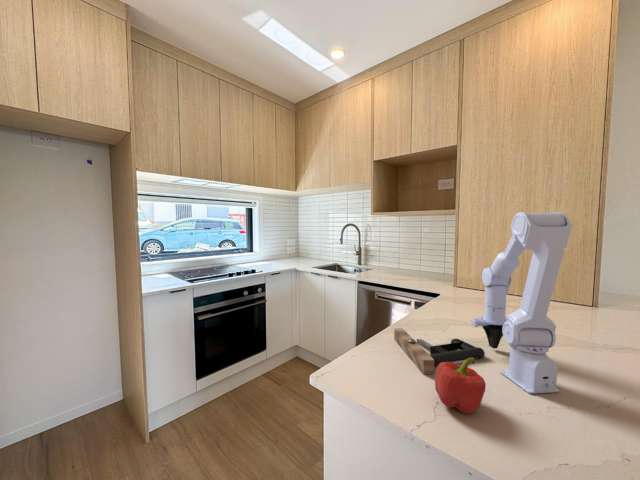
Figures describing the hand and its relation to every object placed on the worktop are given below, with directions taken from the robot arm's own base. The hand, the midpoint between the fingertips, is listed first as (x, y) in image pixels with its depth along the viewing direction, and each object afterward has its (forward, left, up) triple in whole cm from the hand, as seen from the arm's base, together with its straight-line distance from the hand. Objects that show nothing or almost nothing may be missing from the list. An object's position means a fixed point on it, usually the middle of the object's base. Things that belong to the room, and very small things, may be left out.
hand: (493, 346), depth 86 cm
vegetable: (-23, +27, -2) cm, 35 cm away
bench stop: (0, +28, -1) cm, 28 cm away
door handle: (0, +17, -2) cm, 17 cm away
